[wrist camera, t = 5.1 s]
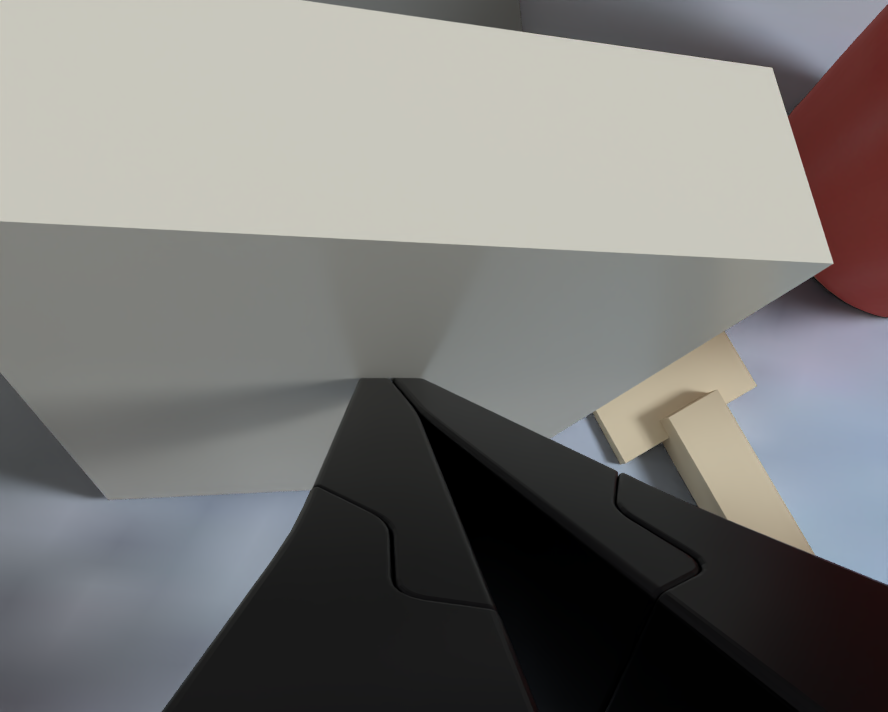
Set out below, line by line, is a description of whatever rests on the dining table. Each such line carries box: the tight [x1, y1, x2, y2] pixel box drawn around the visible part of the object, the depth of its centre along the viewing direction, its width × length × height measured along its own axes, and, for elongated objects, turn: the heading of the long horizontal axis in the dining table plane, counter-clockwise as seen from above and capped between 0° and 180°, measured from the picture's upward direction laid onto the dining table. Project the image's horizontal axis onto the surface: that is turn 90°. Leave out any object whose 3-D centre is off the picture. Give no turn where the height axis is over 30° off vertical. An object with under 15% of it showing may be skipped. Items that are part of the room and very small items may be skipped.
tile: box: [0, 0, 834, 500], centre depth 11 cm, size 2×8×11 cm, turn 93°
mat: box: [304, 0, 522, 32], centre depth 18 cm, size 12×12×1 cm
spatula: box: [593, 331, 815, 555], centre depth 18 cm, size 18×4×1 cm, turn 28°
